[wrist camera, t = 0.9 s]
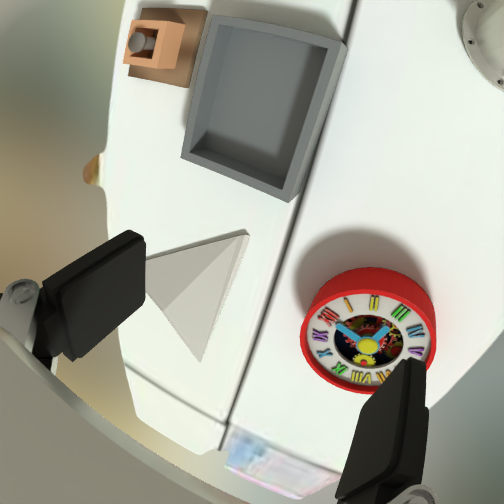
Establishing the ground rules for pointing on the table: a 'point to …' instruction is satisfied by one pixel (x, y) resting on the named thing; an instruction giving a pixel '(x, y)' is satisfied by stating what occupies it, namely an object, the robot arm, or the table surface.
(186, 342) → the paper plane
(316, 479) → the table surface
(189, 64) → the stake base
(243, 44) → the tray
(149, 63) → the ring
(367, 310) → the toy clock
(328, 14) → the table surface
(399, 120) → the table surface
